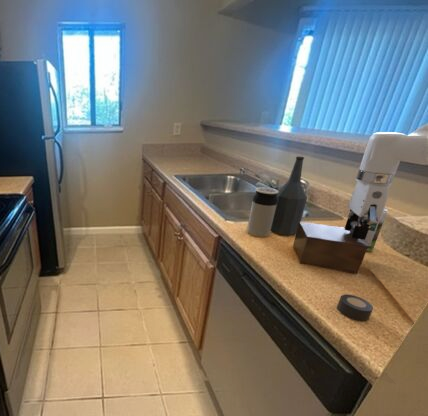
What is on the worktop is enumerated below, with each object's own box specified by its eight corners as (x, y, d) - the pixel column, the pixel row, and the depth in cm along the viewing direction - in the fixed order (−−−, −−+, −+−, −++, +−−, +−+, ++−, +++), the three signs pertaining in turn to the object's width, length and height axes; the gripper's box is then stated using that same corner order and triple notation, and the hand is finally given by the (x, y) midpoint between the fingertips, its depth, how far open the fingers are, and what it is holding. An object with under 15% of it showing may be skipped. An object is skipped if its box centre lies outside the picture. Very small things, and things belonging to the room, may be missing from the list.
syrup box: (350, 246, 98) (363, 209, 92) (352, 241, 101) (365, 204, 96) (371, 252, 94) (387, 213, 88) (373, 247, 97) (388, 209, 92)
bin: (343, 254, 93) (351, 230, 90) (357, 274, 82) (367, 248, 79) (292, 246, 99) (298, 223, 96) (299, 263, 88) (306, 239, 85)
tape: (363, 307, 69) (367, 298, 68) (373, 324, 64) (378, 314, 63) (333, 301, 71) (337, 291, 70) (341, 316, 66) (345, 306, 65)
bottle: (282, 224, 116) (300, 153, 105) (303, 235, 107) (324, 158, 96) (261, 227, 114) (277, 155, 103) (280, 237, 105) (300, 159, 94)
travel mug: (268, 239, 103) (279, 194, 97) (245, 234, 107) (254, 191, 101) (269, 231, 110) (279, 188, 103) (247, 227, 114) (255, 185, 107)
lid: (354, 231, 90) (359, 217, 88) (371, 248, 79) (376, 233, 77) (298, 223, 96) (302, 210, 94) (307, 239, 85) (311, 225, 83)
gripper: (408, 186, 69) (382, 249, 76) (378, 171, 84) (358, 225, 90) (370, 183, 72) (348, 244, 79) (347, 169, 87) (330, 222, 93)
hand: (354, 233), depth 85 cm, fingers closed on lid, 5 cm apart
